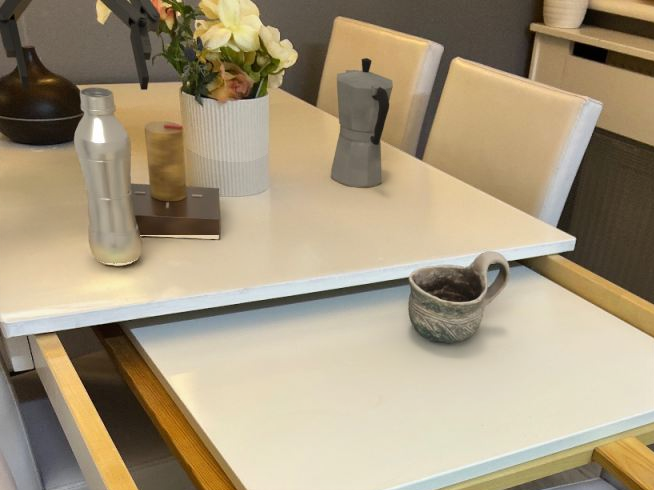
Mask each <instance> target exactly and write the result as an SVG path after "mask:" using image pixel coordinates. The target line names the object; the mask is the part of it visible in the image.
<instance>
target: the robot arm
mask: <svg viewBox="0 0 654 490" xmlns="http://www.w3.org/2000/svg"><path fill="white" fill-rule="evenodd" d="M32 1H33V0H4V2H3V3H2V4H1V5H0V39H1V44H2V48H3V53H4V55H5V57H6V58H8V59H9V58H10V59H14V58H15V60H16V65H17V69H18V75H19V78H20V83H21V84H20V85H21V89H22V90H24V91H25V90H27V91H28V90H30V81H29V74H28V70H27V64H26V60H25V56H24V50H23V47H22V46H23V45H22V42H21V37H20V31H19V28H18V24H17V22H18V20H19V19H20V18H21V17H22V15H23V14H24V12H25V11H26V9H27V8H28V6H29V5H30V4H31V3H32ZM99 1H100V2H101V3H102V4H104V6H105V7H106V8H108V9H109V10H110V11H111V12H112V13H113V14H114V15H115V16H116V17H117V18H118V19H119V20H120V21H121V22H122V23H123V24H125V26H127V27H128V28H129V30H130V35H129V40H130V44H131V48H132V53H133V58H134V64H135V68H136V72H137V78H138V82H139V86H140V87H139V88H140V90H141V91H147V90H148V87H149V80H150V75H149V70H148V66H147V61H150V60H151V56H152V50H153V49H152V44H151V40H150V35H149V33H150V32H153V33H157V32H158V31H159V27H160V20H161V14H160V12H159V11H158V9H157V7H156V6H155V5H154V3H153V2H152V0H99Z"/></svg>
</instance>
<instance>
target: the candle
mask: <svg viewBox="0 0 654 490" xmlns="http://www.w3.org/2000/svg"><path fill="white" fill-rule="evenodd" d="M144 135H145V146H146V159H147V169H148V181H149V184H150V194H151V196H152V197H153V198H155V199H158V200H161V201H179V200H182V199H184V198H186V196H187V188H186V186H187V174H186V158H185V157H186V155H185V140H184V127H183V125H181V124H179V123H177V122H174V121H173V122H172V121H167V120H155V121H150V122H148V123H146V124H144Z"/></svg>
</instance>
